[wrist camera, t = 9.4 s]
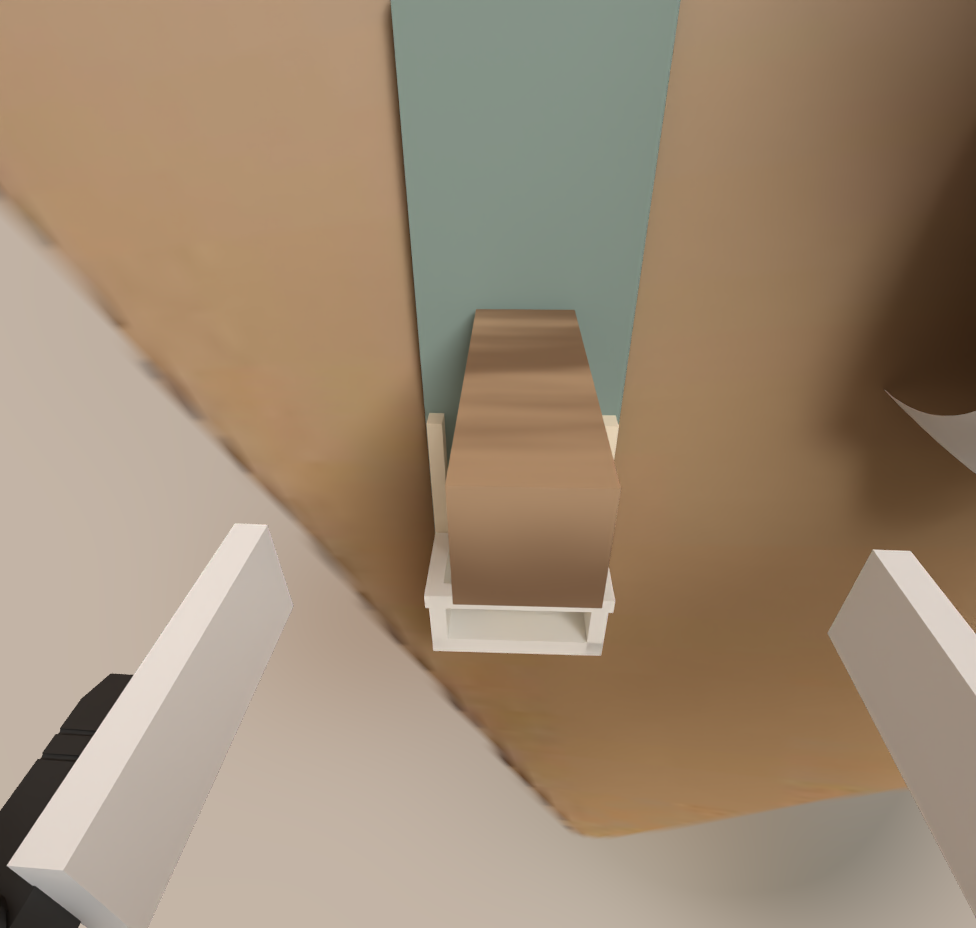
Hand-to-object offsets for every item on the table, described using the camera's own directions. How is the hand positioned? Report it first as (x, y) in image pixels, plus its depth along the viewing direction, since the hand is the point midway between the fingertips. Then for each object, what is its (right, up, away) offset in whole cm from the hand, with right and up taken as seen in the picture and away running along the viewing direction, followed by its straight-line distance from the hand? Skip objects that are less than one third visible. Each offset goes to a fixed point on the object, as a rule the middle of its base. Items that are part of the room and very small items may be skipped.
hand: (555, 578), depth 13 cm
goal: (0, -3, +18) cm, 18 cm away
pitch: (0, +6, +13) cm, 14 cm away
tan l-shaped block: (0, +5, +13) cm, 14 cm away
